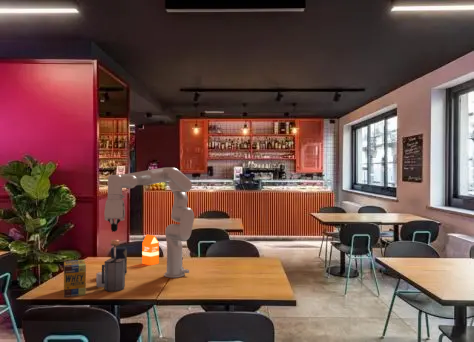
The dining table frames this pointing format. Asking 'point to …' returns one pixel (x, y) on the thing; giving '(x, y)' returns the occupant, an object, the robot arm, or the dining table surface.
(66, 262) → the protein box
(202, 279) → the dining table surface
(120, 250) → the canister
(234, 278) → the dining table surface
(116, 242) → the plunger
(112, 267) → the carafe
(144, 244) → the orange juice
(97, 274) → the glossy white dome
